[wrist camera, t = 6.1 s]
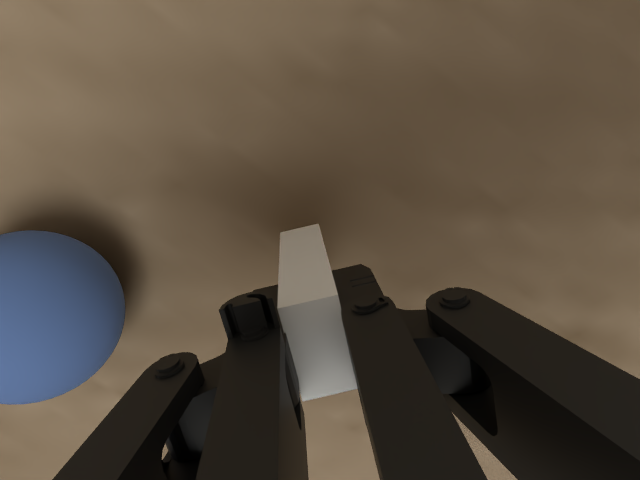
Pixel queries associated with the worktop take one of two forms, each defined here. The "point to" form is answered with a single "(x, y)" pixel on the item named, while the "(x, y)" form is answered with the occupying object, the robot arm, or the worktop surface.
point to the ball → (54, 314)
